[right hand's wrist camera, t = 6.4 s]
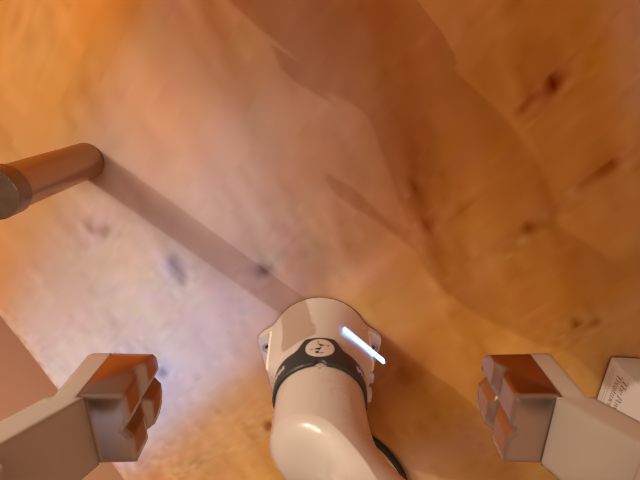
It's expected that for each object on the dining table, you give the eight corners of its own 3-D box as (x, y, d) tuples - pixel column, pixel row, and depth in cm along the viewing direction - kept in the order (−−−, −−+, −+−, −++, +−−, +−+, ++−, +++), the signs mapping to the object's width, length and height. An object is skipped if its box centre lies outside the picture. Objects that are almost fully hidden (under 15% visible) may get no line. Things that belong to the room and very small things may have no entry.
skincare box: (606, 355, 67) (687, 434, 53) (640, 357, 68) (731, 436, 53) (573, 457, 75) (636, 551, 60) (604, 458, 75) (674, 552, 60)
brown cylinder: (64, 165, 57) (-36, 200, 41) (76, 136, 56) (-23, 160, 40) (96, 183, 58) (10, 224, 42) (109, 154, 57) (25, 185, 40)
